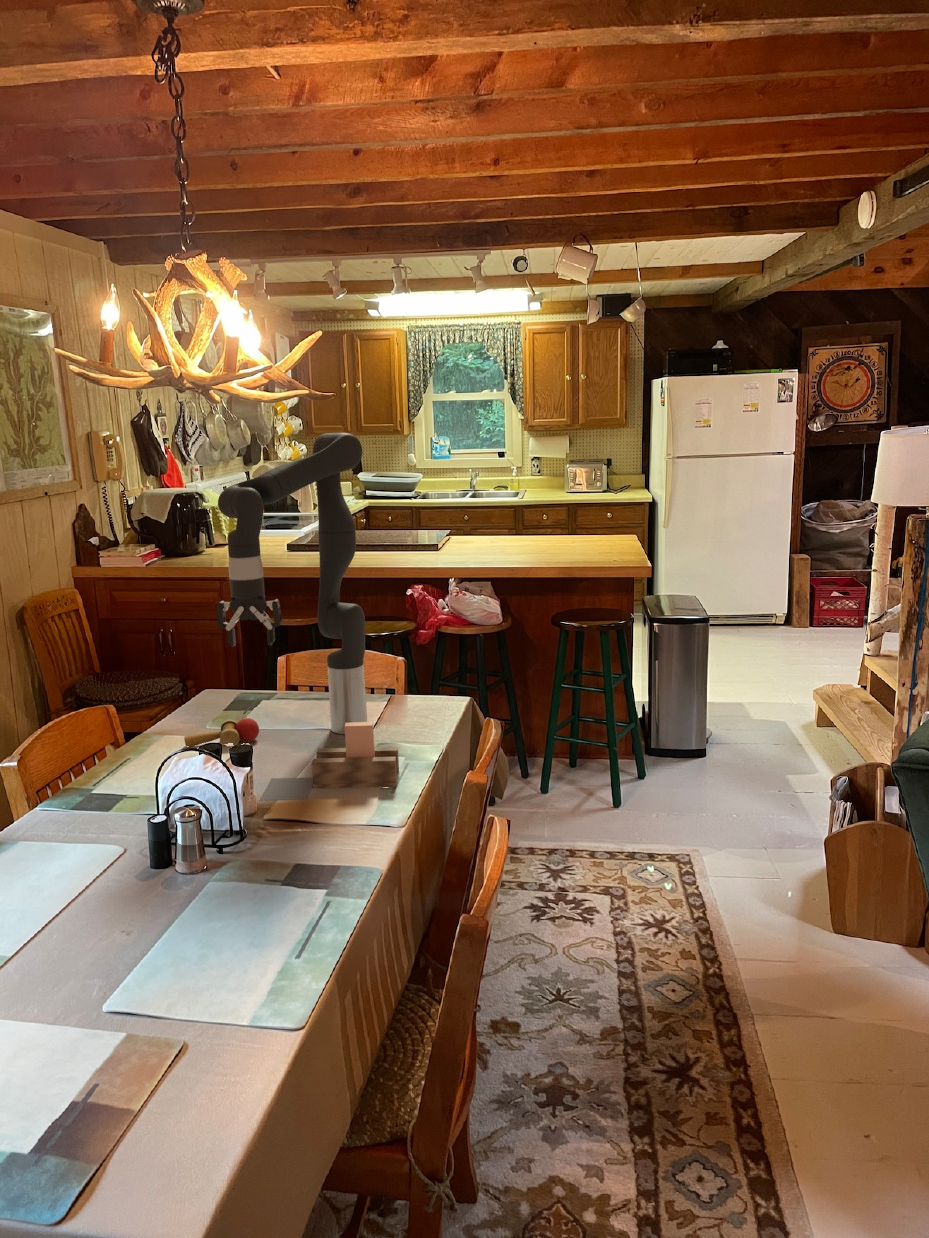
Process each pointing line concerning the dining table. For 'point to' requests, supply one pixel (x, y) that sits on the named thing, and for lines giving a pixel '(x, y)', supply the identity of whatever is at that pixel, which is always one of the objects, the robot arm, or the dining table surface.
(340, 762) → the rack
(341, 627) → the robot arm
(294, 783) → the mat
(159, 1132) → the dining table surface
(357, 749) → the block
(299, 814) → the dining table surface
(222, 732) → the kendama
